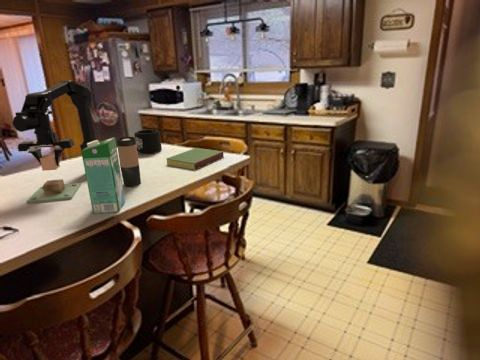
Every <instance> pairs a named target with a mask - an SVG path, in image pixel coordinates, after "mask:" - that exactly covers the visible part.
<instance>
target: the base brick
mask: <svg viewBox="0 0 480 360" xmlns="http://www.w3.org/2000/svg"><path fill="white" fill-rule="evenodd" d="M64 185H65V182H64V179H62V178H61V179H52V180H47V181H45V182H44V183H43V185H42V187H43V190H44V194H45V195H50V194H60V193H62V192H63V190H64V189H65V186H64Z"/></svg>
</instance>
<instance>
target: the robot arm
mask: <svg viewBox="0 0 480 360" xmlns="http://www.w3.org/2000/svg"><path fill="white" fill-rule="evenodd" d="M64 95H66V96H68V97H69V98H70V100H71V103H72V104H73V106H75V108H76V109H77V113H78V114H77V115H78V118H79V123H80V129H81V132H82V137H83V141H82V142H81V144H80V146H79V147H80V149H81V151H82V150H83V149H85V148H86V147H88V146H87V143H89V142H92V141H95V140H97V139H96V136H95V131H94V125H93V120H92V114H91V110H90V107H91V104H92V102H93V101H92V92H91V90H90V89H89V88H88V87H85V86H83V85H81V84H78V83H77V82H74V81H73V80H70V79H69V80H61V81H59V82H58V83H56V84H54V85H52V86H51V87H48V88H46V89H45V90H42V91H37V92H36V91H35V92H31V93H27V94H26V95H25V99H24V101H23V104H22V108H21V111H17V112H15V116H14V117H13V120H12V126H13V128H14V129H15V130H16V131H17V132H19V133H20V132H21V133H23V132H28V131H31V130H34V131H33V134H34V135H35V138H36V142H34V141H33V140H30V141H29V140H28V141H22V142H20V143H18V144H17V150H18V152H27V153H28V154H31V155H32V156H33V158H35V159H36V161H38V163H39V164H40V165H41V161H40V158H41V157H43V155H42V149H43V148H55V149H54V150H53V151H54V153H53V155H55V159H56V164H57V166H59V164H60V161H61V157H62V156H61V155H62V154H63V153H62V152H63V151H64V150H65V149H71V148H72V147H74V146H75V142H74V140H73V138H62V139H61V140H59V135H58V133H57V132H54V129H53V128H52V125H51V120H50V115H51V114H53V111H52V110H50V109H49V107H50V106H52V105H53V101H55V100H57V99H58V98H60V97H62V96H64ZM81 151H80V152H81Z"/></svg>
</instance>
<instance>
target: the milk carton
mask: <svg viewBox="0 0 480 360" xmlns="http://www.w3.org/2000/svg"><path fill="white" fill-rule="evenodd" d="M87 146H88V147H86V148H85V149H83V150H82V151H80V153H81V156H82V163H83V167H84V172H85V173H84V174H85V178H86V184H87V188H88V194H89V199H90V204H91V209H92V214H106V213H107V214H108V213H120V212H121V209H122V208H123V206H124V204H125V203H126V199H125V192H124V188H123V187H124V184H123V178H122V173H121V168H120V161H119V154H118V147H117V140H116V137H115V136H114V137H111V138H108V139H105V140H104V139H103V140H102V141H100V140H99V139H96V140H95V141H92V142H89V143H87Z"/></svg>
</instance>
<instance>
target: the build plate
mask: <svg viewBox="0 0 480 360" xmlns="http://www.w3.org/2000/svg"><path fill="white" fill-rule="evenodd" d="M81 185H82V183H80V182H79V183H77V182H75V183H68V184H64V186H65V189H64V190H63V192H62V193H60V194H50V195H45V194H44V190H43V186H40V187H39V188H38V189H37V190H36V191H35V192H34V193H33V194H32V195H31V196H29V197H28V199H27V200H26V204H27V205H28V204H37V203H46V202H57V201H66V200H73V198H74V197H75V195H76V193H77V192H78V190H79V188H81Z"/></svg>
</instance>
